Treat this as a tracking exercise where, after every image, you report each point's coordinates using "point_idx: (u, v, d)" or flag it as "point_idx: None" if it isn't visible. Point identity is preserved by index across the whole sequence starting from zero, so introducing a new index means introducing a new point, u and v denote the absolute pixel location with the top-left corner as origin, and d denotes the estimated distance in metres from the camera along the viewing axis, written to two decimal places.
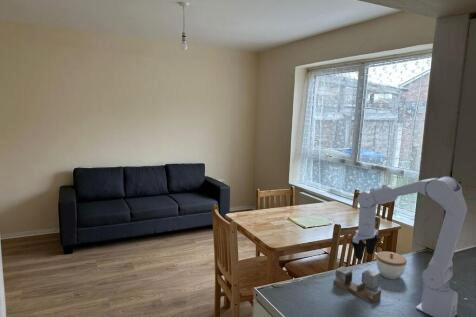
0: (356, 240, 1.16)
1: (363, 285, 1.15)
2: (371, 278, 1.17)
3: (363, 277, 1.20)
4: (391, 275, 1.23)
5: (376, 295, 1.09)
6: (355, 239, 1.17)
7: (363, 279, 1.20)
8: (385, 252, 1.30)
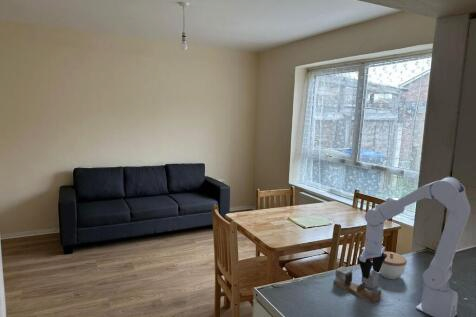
0: (363, 259, 1.13)
1: (363, 285, 1.15)
2: (371, 278, 1.17)
3: (363, 277, 1.20)
4: (391, 275, 1.23)
5: (376, 295, 1.09)
6: (362, 258, 1.14)
7: (363, 279, 1.20)
8: (385, 252, 1.30)
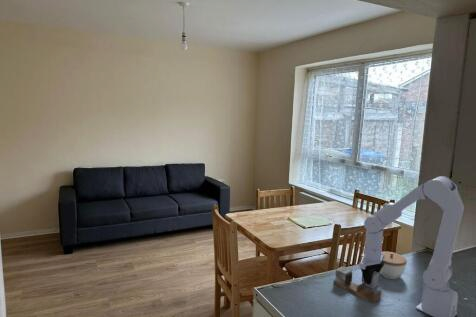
0: (363, 266, 1.14)
1: (363, 285, 1.15)
2: None
3: None
4: (391, 275, 1.23)
5: (376, 295, 1.09)
6: (361, 265, 1.14)
7: (363, 279, 1.20)
8: (385, 252, 1.30)
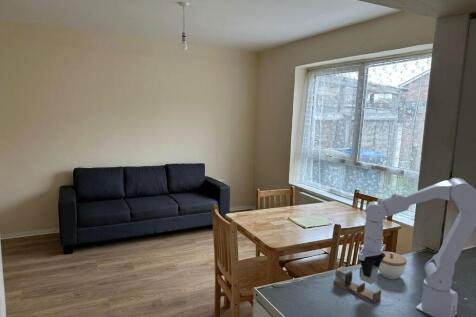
0: (361, 257, 1.05)
1: (363, 285, 1.15)
2: None
3: (361, 272, 1.12)
4: (391, 275, 1.23)
5: (376, 295, 1.09)
6: (360, 256, 1.05)
7: (361, 274, 1.12)
8: (385, 252, 1.30)
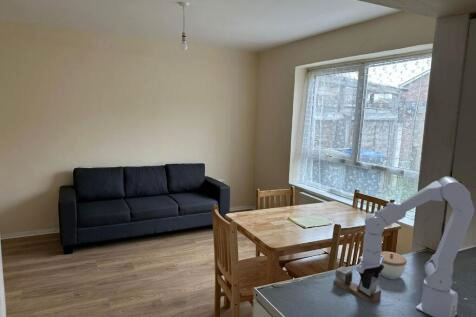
0: (361, 269, 1.05)
1: None
2: None
3: (361, 282, 1.12)
4: (391, 275, 1.23)
5: (376, 295, 1.09)
6: (359, 268, 1.06)
7: (361, 284, 1.12)
8: (385, 252, 1.30)
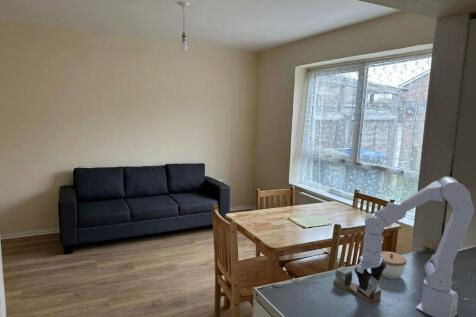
0: (361, 270, 1.05)
1: None
2: (370, 287, 1.09)
3: None
4: (391, 275, 1.23)
5: (376, 295, 1.09)
6: (359, 268, 1.06)
7: None
8: (385, 252, 1.30)
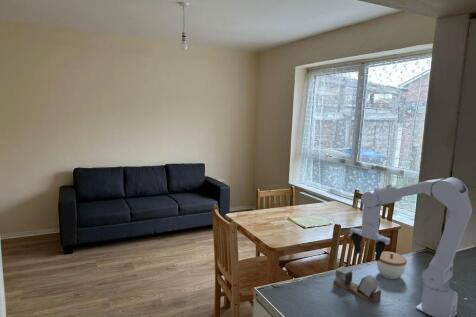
0: None
1: None
2: (370, 287, 1.09)
3: (362, 283, 1.11)
4: (391, 275, 1.23)
5: (376, 295, 1.09)
6: None
7: (361, 284, 1.12)
8: (385, 252, 1.30)
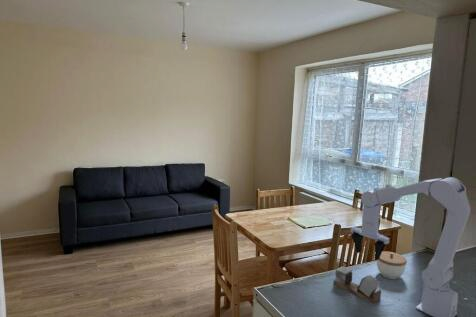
0: None
1: None
2: (370, 287, 1.09)
3: (362, 283, 1.11)
4: (391, 275, 1.23)
5: (376, 295, 1.09)
6: None
7: (361, 284, 1.12)
8: (385, 252, 1.30)
